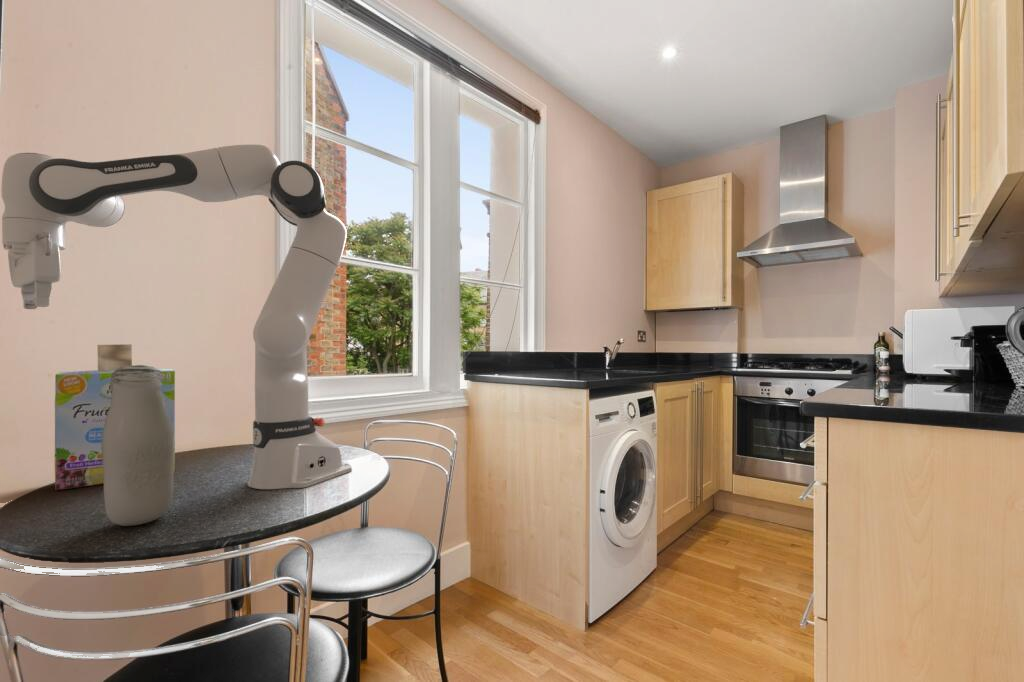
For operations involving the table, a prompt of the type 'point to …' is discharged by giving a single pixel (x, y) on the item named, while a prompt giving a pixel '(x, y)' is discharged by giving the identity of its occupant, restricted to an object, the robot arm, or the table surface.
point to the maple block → (114, 356)
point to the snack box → (90, 423)
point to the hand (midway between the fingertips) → (36, 308)
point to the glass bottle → (137, 448)
